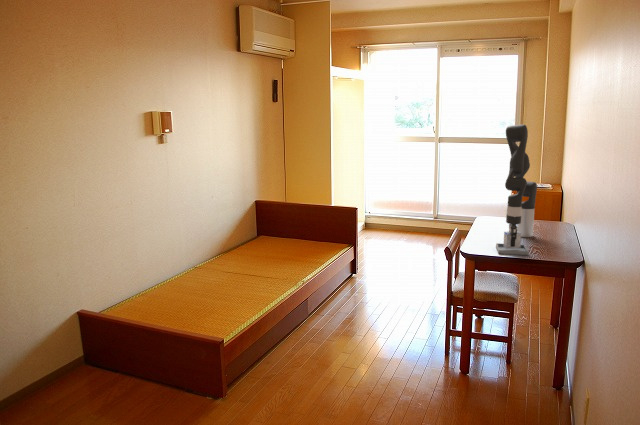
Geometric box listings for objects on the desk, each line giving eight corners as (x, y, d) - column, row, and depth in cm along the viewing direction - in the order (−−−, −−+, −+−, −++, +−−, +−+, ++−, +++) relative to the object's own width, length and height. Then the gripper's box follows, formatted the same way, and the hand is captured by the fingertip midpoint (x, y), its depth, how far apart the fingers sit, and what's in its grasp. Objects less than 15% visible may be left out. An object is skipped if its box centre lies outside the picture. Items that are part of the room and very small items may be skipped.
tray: (495, 247, 295) (496, 243, 294) (524, 248, 291) (524, 244, 291) (498, 254, 281) (498, 250, 280) (528, 255, 277) (528, 251, 277)
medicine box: (517, 246, 288) (518, 231, 286) (520, 248, 284) (521, 233, 282) (503, 246, 288) (504, 231, 286) (506, 248, 283) (507, 233, 282)
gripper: (505, 211, 290) (503, 241, 293) (508, 216, 276) (506, 248, 279) (519, 212, 288) (517, 242, 291) (523, 217, 275) (521, 248, 278)
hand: (512, 244), depth 285 cm, fingers closed on medicine box, 5 cm apart
